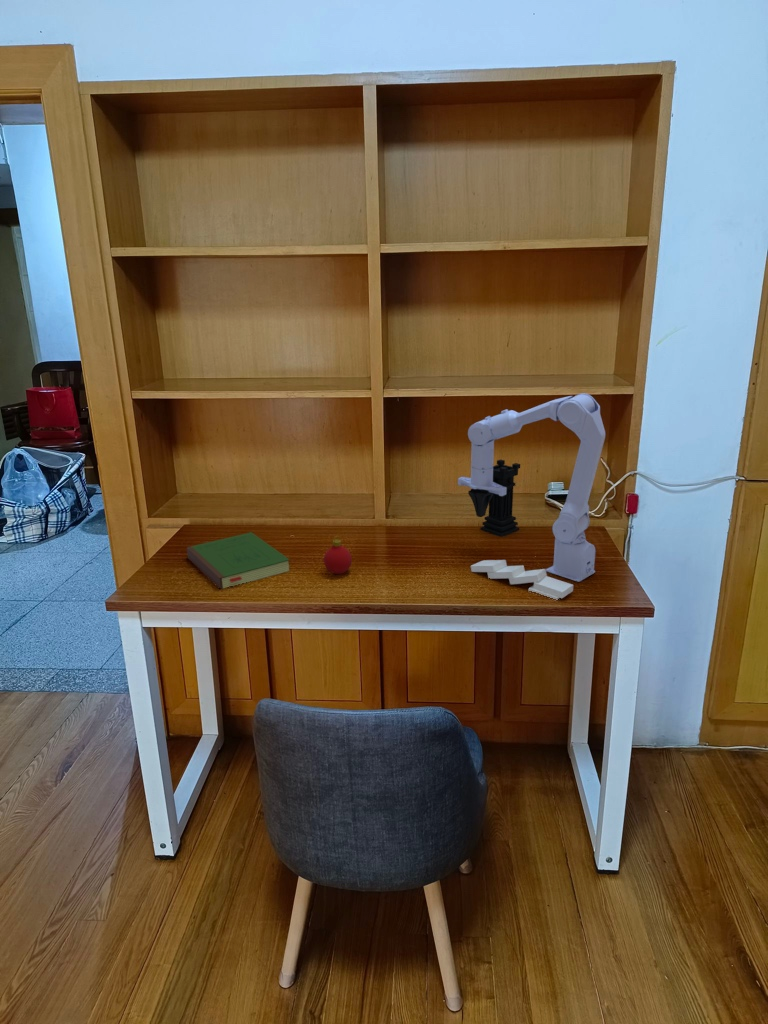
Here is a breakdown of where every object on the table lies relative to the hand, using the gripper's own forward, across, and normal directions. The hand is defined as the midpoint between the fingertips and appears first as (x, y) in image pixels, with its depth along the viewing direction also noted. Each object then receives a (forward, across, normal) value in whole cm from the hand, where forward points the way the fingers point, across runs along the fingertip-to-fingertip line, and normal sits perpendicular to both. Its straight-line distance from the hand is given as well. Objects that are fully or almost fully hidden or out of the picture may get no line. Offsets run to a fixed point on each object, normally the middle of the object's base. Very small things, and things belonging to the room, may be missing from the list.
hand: (480, 515), depth 181 cm
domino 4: (+10, +23, -9) cm, 27 cm away
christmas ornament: (+11, -18, -35) cm, 41 cm away
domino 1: (+10, +6, -9) cm, 15 cm away
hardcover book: (+11, -41, -50) cm, 66 cm away
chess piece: (+11, -6, +17) cm, 21 cm away
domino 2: (+10, +12, -9) cm, 18 cm away
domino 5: (+9, +24, -8) cm, 27 cm away
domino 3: (+10, +18, -9) cm, 22 cm away
